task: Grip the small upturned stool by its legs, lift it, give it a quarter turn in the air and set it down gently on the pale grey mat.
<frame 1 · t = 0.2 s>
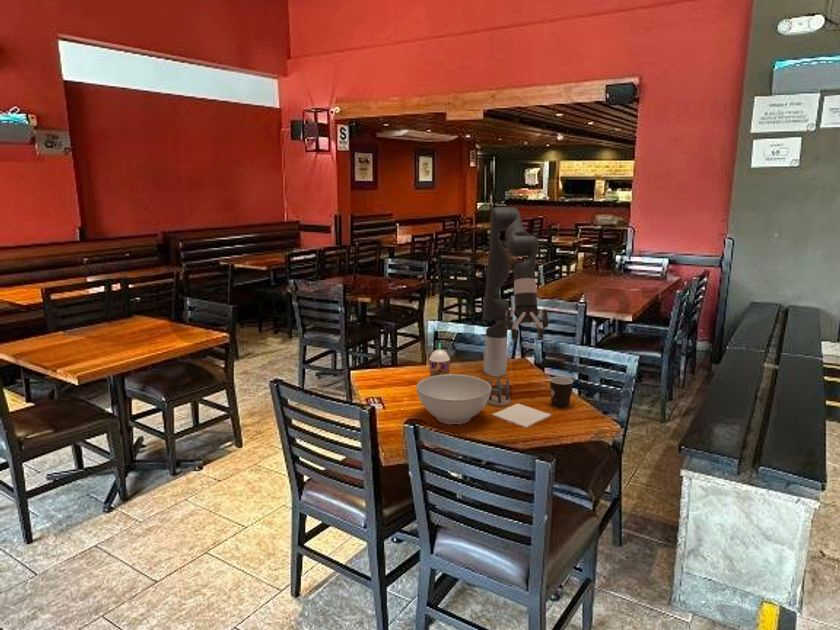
hand: (527, 340, 201), 31 cm above the table, tool tilted 20°, fingers open, 8 cm apart
mat: (521, 415, 216), on the table
decorative bowl: (453, 418, 215), on the table
stool: (498, 402, 229), on the table
coffee mug: (560, 404, 228), on the table
smoothie: (439, 391, 242), on the table
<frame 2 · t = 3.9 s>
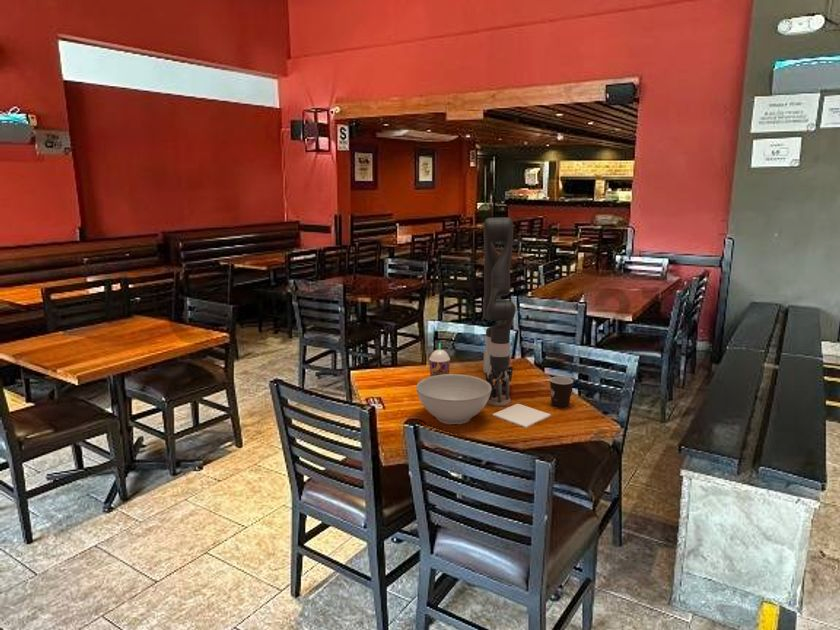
hand: (498, 395, 228), 3 cm above the table, tool pointing down, fingers closed on stool, 5 cm apart
stool: (498, 402, 229), on the table, touching gripper
everything else where it was.
when the fingers open (5 cm above the table, at t = 10.1 s): stool stays where it is, resting on mat.
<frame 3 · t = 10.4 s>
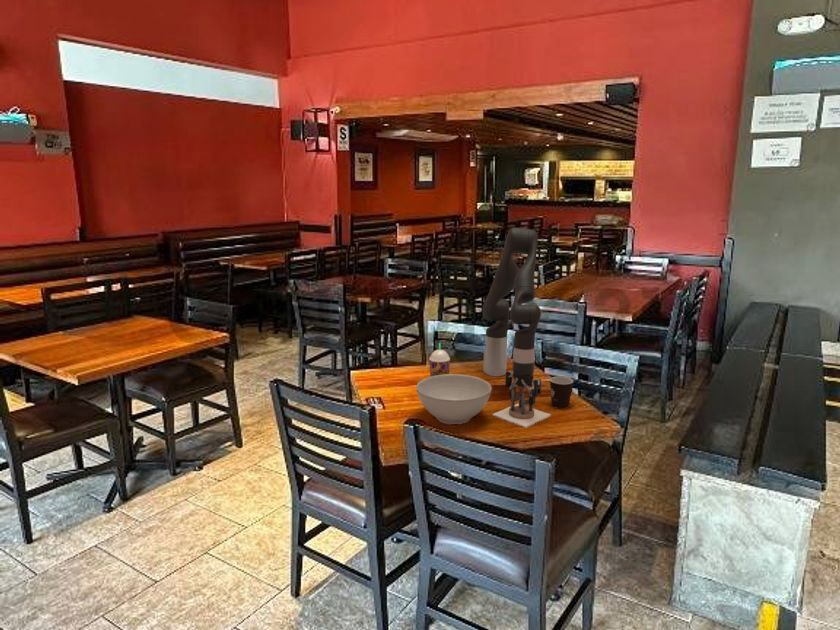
hand: (522, 402, 215), 5 cm above the table, tool pointing down, fingers open, 8 cm apart
stool: (521, 414, 216), point 1 cm above the table, touching mat
everything else where it was.
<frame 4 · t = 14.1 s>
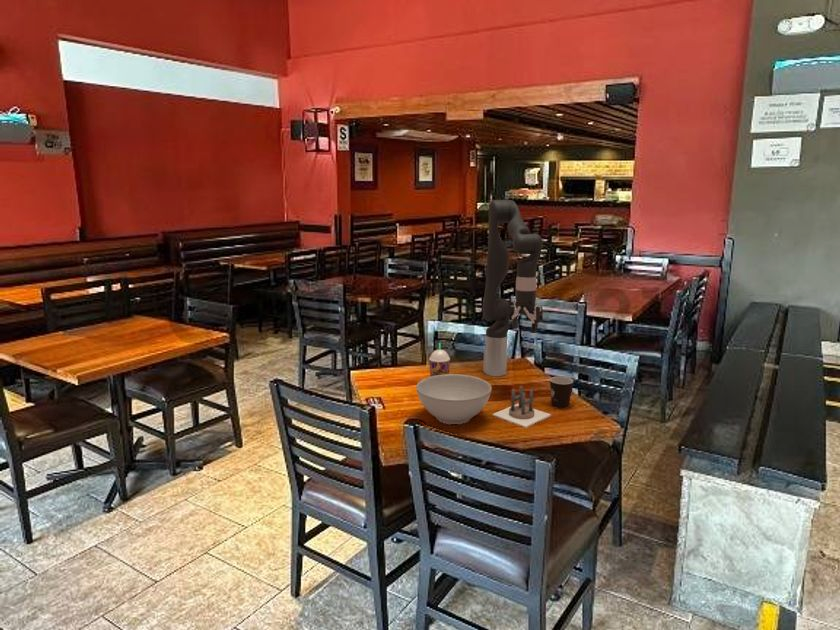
hand: (524, 330, 224), 28 cm above the table, tool pointing down, fingers open, 8 cm apart
nothing on the table moved.
at the end: stool inside the target area on the mat (0.1 cm from its centre), point 0.6 cm above the mat's base; stool tilted 0°; the gripper is holding nothing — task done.
